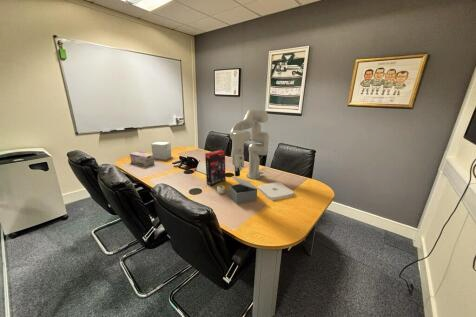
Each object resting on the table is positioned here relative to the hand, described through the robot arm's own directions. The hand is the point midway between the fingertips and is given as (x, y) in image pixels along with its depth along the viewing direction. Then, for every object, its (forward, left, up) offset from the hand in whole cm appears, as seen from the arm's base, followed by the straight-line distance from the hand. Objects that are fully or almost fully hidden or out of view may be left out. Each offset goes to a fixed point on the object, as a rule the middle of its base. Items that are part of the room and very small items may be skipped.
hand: (237, 175), depth 136 cm
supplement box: (+43, -124, -18) cm, 133 cm away
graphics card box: (+5, -33, -18) cm, 38 cm away
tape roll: (+7, -14, -18) cm, 24 cm away
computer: (-33, +1, -19) cm, 38 cm away
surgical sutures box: (+64, -109, -19) cm, 128 cm away
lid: (-6, 0, -7) cm, 9 cm away
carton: (-5, 0, -18) cm, 19 cm away
